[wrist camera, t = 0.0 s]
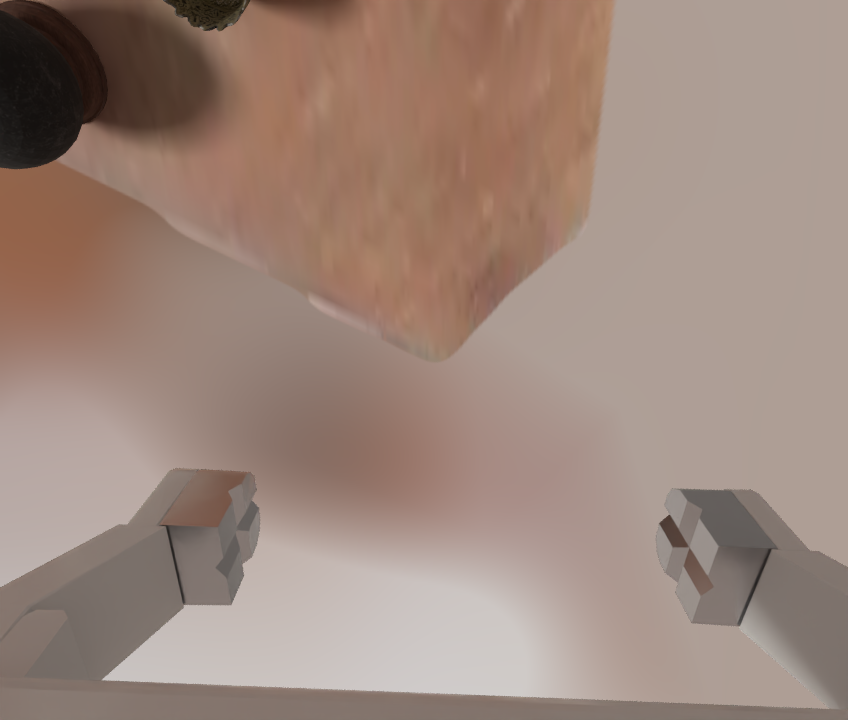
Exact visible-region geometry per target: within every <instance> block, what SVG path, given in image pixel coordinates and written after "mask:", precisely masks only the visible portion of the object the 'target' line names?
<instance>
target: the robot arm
mask: <svg viewBox="0 0 848 720" xmlns="http://www.w3.org/2000/svg"><path fill="white" fill-rule="evenodd" d="M256 490H257V489H256V483H255V477H254V475H253V474H252V473H251V472H240V471H223V470H207V469H201V470H199V469H184V468H175V469H173V470H170V471H169V472H168V473H167V474H166V476H165V477H164V478H163V479H162V481H161V482H160V484H159V485H158V486H157V488H155V490H154V491H153V492H152V494H151V495H150V496H149V497H148V499H147V500H146V501H145V503H144V504H143V505H142V506H141V508H140V509H139V510H138V511H137V513H136V514H135V515H134V517H133V518H132V519H131V520H130V522H129V523H128V524H127V525H117V526H115V527H113V528H111V529H109V530H108V531H106V532H104V533H102V534H100V535H98V536H96V537H94V538H92V539H91V540H89V541H87V542H85V543H83V544H81V545H79V546H78V547H76V548H74V549H72V550H70V551H68V552H66V553H64V554H62V555H61V556H59V557H57V558H55V559H53V560H51V561H49V562H47V563H45V564H44V565H42V566H40V567H38V568H36V569H34V570H32V571H30V572H28V573H27V574H25V575H23V576H21V577H19V578H17V579H15V580H13V581H11V582H10V583H8V584H6V585H4V586H2V587H0V720H848V567H846V566H844V565H843V564H841V563H839V562H837V561H836V560H834V559H831V558H830V557H828V556H826V555H825V554H823V553H821V552H819V551H810V550H809V549H808V548H807V547H806V546H805V545H804V543H803V542H802V541H801V540H800V539H799V538H798V537H797V536H796V535H795V534H794V532H793V531H792V530H791V529H790V528H789V527H788V526H787V525H786V523H785V522H784V521H783V520H782V519H781V518H780V517H779V516H778V515H777V513H776V512H775V511H774V510H773V509H772V508H771V507H770V506H769V505H768V503H767V502H766V501H765V500H764V499H763V498H762V497H761V496H760V494H758V493H756V492H755V491H753V490H731V489H730V490H729V489H725V490H700V489H672V490H671V491H670V492H669V493H668V495H667V498H666V502H665V507H666V509H667V511H668V512H669V514H670V515H668V516H667V517H666V518H665V519H664V520H663V521H661V522H660V523H659V527H658V531H657V535H656V548H657V554H658V558H659V561H660V564H661V566H662V568H663V570H664V571H665V573H666V574H667V575H669V576H670V577H672V578H673V579H674V580H675V581H677V582H678V585H677V588H676V592H675V593H676V595H677V597H678V598H679V600H680V602H681V604H682V606H683V608H684V610H685V612H686V614H687V615H688V617H689V619H690V621H691V623H698V624H713V625H727V626H740V628H739V629H740V630H741V631H742V632H743V633H745V634H746V635H747V636H748V637H749V638H750V639H751V640H752V641H754V642H755V643H756V644H757V645H758V646H759V647H760V648H762V649H763V650H764V651H765V652H766V653H767V654H768V655H769V656H771V657H772V658H773V659H774V660H775V661H776V662H777V663H779V664H780V665H781V666H782V667H783V668H784V669H785V670H786V671H788V672H789V673H790V674H791V675H792V676H793V677H794V678H795V679H797V680H798V681H799V682H800V683H801V684H802V685H803V686H805V687H806V688H807V689H808V690H809V691H810V692H811V693H813V694H814V695H815V696H816V697H817V698H818V699H819V700H821V701H822V702H823V703H824V704H825V705H826V706H827V707H828V708H829V709H812V708H787V707H763V706H738V705H735V706H734V705H712V704H687V703H662V702H637V701H612V700H587V699H562V698H536V697H511V696H485V695H460V694H459V695H458V694H434V693H409V692H384V691H357V690H332V689H307V688H282V687H256V686H231V685H203V684H179V683H154V682H128V681H102V679H103V678H104V677H105V676H106V675H108V674H109V673H110V672H111V671H112V670H113V669H114V668H115V667H117V666H118V665H119V664H120V663H121V662H122V661H123V660H125V659H126V658H127V657H128V656H129V655H130V654H131V653H133V652H134V651H135V650H136V649H137V648H138V647H139V646H140V645H142V644H143V643H144V642H145V641H146V640H147V639H148V638H149V637H151V636H152V635H153V634H154V633H155V632H156V631H158V630H159V629H160V628H161V627H162V626H163V625H164V624H166V622H168V621H169V620H170V619H171V618H172V617H174V616H175V615H176V614H177V613H178V612H179V611H180V610H181V609H183V608H184V605H231V604H232V602H233V600H234V597H235V595H236V593H237V591H238V588H239V586H240V584H241V581H242V579H243V577H244V573H243V566H242V564H243V563H244V562H245V561H247V560H248V559H250V558H251V557H252V555H253V553H254V550H255V548H256V545H257V541H258V536H259V531H260V513H259V507H257V505H256V504H255V503H254V502H253V501H252V498H253V496H254V494H255V492H256Z"/></svg>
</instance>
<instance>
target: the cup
mask: <svg viewBox="0 0 848 720" xmlns="http://www.w3.org/2000/svg"><path fill="white" fill-rule="evenodd" d="M163 1H164V2H166V3H167V4H169V5H172V6H173V7H174V8H175V15H176V16H178V17H181V18H183V17H188V21H189V22H190V24H191V25H192V26H193V27H199V28H201V29H202V30H204V31H210V30H213V29H215V28H217V30H218V31H222V30H223V29H224V28H226V27H227V26H232V25H234V24H235V23H236V22H237V21H238V19H239V18H240V16H241V14H242V13H243V12H244V10H245V9H246V7H247V5H248V4H249V2H250V0H163Z"/></svg>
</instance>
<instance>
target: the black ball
mask: <svg viewBox="0 0 848 720" xmlns="http://www.w3.org/2000/svg"><path fill="white" fill-rule="evenodd" d="M107 91H108V89H107V79H106V76H105V72H104V69H103V66H102V64H101V62H100V59H99V57H98V55H97V54H96V52H95V50H94V49H93V47H92V46H91V44H90V43H89V41H88V40H87V39H86V38H85V37H84V35H83V34H82V33H81V32H80V31H79V30H78V29H77V28H76V27H75V26H74V25H73V24H72V23H71V22H70V21H68V20H67V19H66V18H64V17H63V16H61V15H60V14H59V13H57V12H56V11H54V10H52V9H50V8H48V7H46V6H44V5H41V4H38V3H35V2H32V1H26V0H12V1H6V2H3V3H1V4H0V167H1V168H9V169H24V168H32V167H38V166H41V165H44V164H47V163H49V162H52V161H54V160H56V159H57V158H59V157H60V156H62V155H63V154H64V153H66V151H67V150H68V149H69V148H70V147H71V146H72V145H73V143H74V142H75V141H76V139H77V137H78V134H79V132H80V129H81V126H82V124H84V123H87V122H89V121H91V120H92V119H93V118H95V117H96V116H98V115H99V113H100V112H101V111H102V109H103V108H104V105H105V103H106V100H107Z"/></svg>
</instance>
